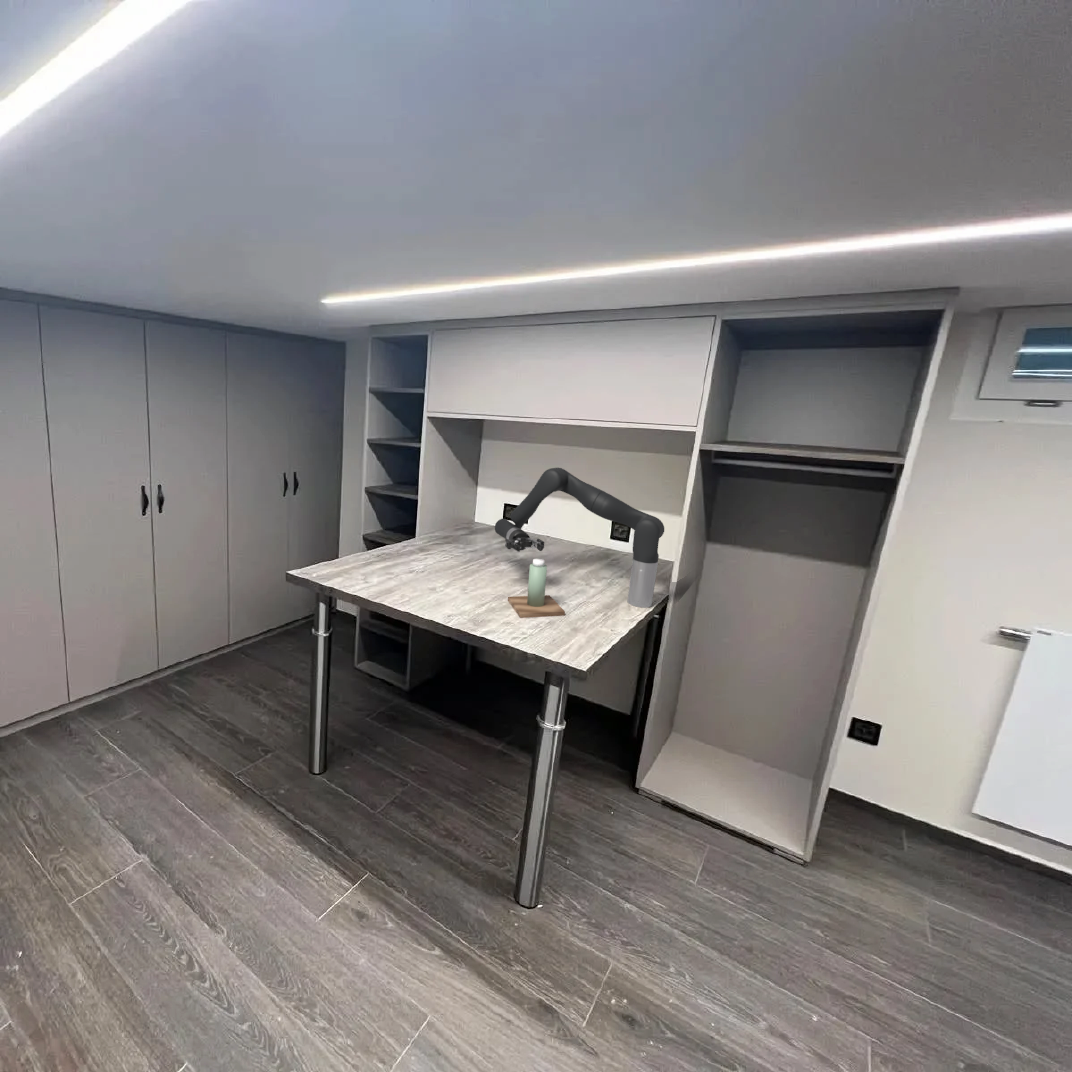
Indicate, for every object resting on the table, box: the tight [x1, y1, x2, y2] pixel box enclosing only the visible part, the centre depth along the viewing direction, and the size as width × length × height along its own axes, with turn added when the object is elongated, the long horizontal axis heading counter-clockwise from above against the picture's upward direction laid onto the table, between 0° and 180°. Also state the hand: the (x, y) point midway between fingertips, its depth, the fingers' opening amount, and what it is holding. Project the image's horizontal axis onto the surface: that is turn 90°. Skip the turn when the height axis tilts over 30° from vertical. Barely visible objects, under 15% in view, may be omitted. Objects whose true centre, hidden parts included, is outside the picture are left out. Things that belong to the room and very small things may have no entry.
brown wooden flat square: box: [507, 594, 566, 619], centre depth 177 cm, size 16×16×2 cm
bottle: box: [527, 558, 548, 607], centre depth 175 cm, size 6×6×16 cm
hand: (530, 548), depth 183 cm, fingers open, 8 cm apart
